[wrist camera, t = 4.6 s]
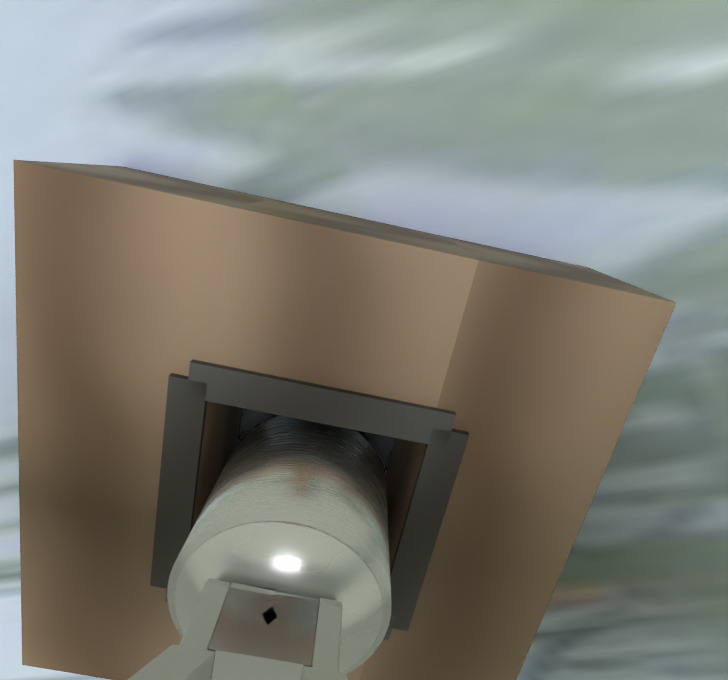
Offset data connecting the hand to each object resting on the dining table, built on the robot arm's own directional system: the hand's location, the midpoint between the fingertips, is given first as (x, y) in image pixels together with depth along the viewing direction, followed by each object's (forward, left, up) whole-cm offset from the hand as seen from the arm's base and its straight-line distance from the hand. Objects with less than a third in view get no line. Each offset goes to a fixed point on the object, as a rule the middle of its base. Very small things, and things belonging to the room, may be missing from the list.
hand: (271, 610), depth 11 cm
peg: (0, 0, -5) cm, 5 cm away
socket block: (0, 0, -8) cm, 8 cm away
